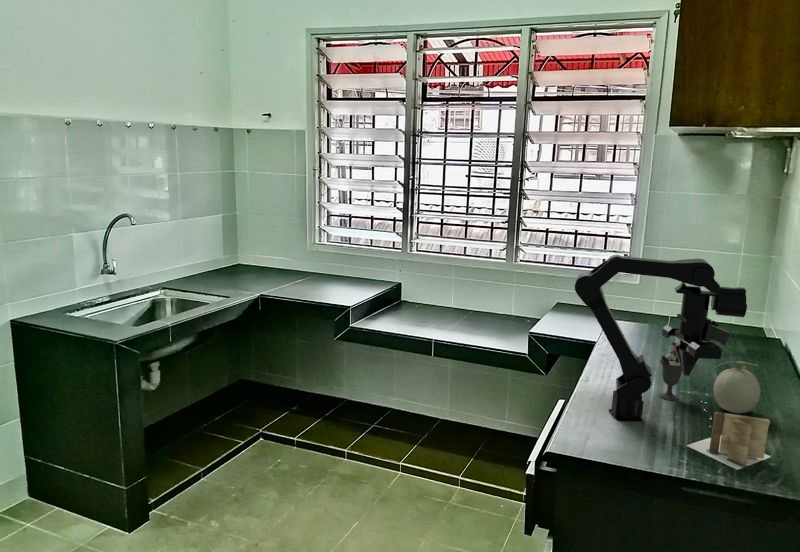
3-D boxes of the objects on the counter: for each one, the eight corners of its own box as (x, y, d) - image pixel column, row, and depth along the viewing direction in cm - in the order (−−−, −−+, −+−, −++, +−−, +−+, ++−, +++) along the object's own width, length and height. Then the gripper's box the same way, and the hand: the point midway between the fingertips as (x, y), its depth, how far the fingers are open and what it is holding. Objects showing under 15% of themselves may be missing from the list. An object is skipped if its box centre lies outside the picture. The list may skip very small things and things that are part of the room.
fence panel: (720, 452, 132) (725, 415, 130) (718, 449, 133) (724, 412, 132) (764, 459, 130) (770, 421, 128) (762, 456, 131) (768, 419, 129)
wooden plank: (707, 451, 134) (712, 412, 132) (712, 449, 134) (717, 411, 133) (742, 467, 127) (748, 426, 125) (747, 465, 128) (753, 425, 126)
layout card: (686, 446, 136) (686, 445, 136) (719, 435, 142) (719, 434, 142) (737, 470, 126) (737, 469, 126) (771, 457, 132) (771, 456, 132)
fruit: (712, 399, 165) (719, 346, 162) (760, 411, 157) (768, 356, 155) (702, 410, 157) (710, 356, 154) (752, 423, 149) (761, 366, 147)
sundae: (683, 396, 166) (690, 344, 163) (679, 404, 160) (686, 350, 158) (658, 390, 169) (664, 339, 167) (653, 398, 164) (659, 345, 161)
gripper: (750, 324, 133) (740, 390, 136) (708, 304, 151) (701, 363, 154) (700, 322, 133) (691, 389, 136) (664, 302, 151) (657, 361, 154)
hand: (686, 375), depth 145 cm, fingers closed
